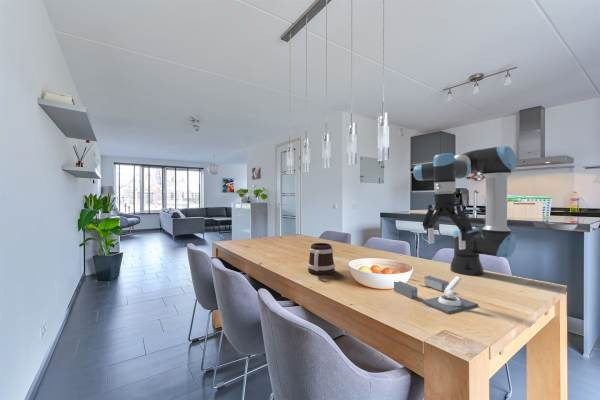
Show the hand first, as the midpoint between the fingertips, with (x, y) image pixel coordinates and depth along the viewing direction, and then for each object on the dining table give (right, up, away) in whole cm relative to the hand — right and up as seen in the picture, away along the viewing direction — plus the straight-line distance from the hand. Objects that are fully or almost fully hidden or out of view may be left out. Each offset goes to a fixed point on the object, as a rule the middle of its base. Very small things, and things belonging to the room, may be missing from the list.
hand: (445, 246), depth 107 cm
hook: (-2, -20, -6) cm, 21 cm away
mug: (-47, -21, +39) cm, 65 cm away
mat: (-2, -21, -6) cm, 22 cm away
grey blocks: (-6, -21, +9) cm, 23 cm away
